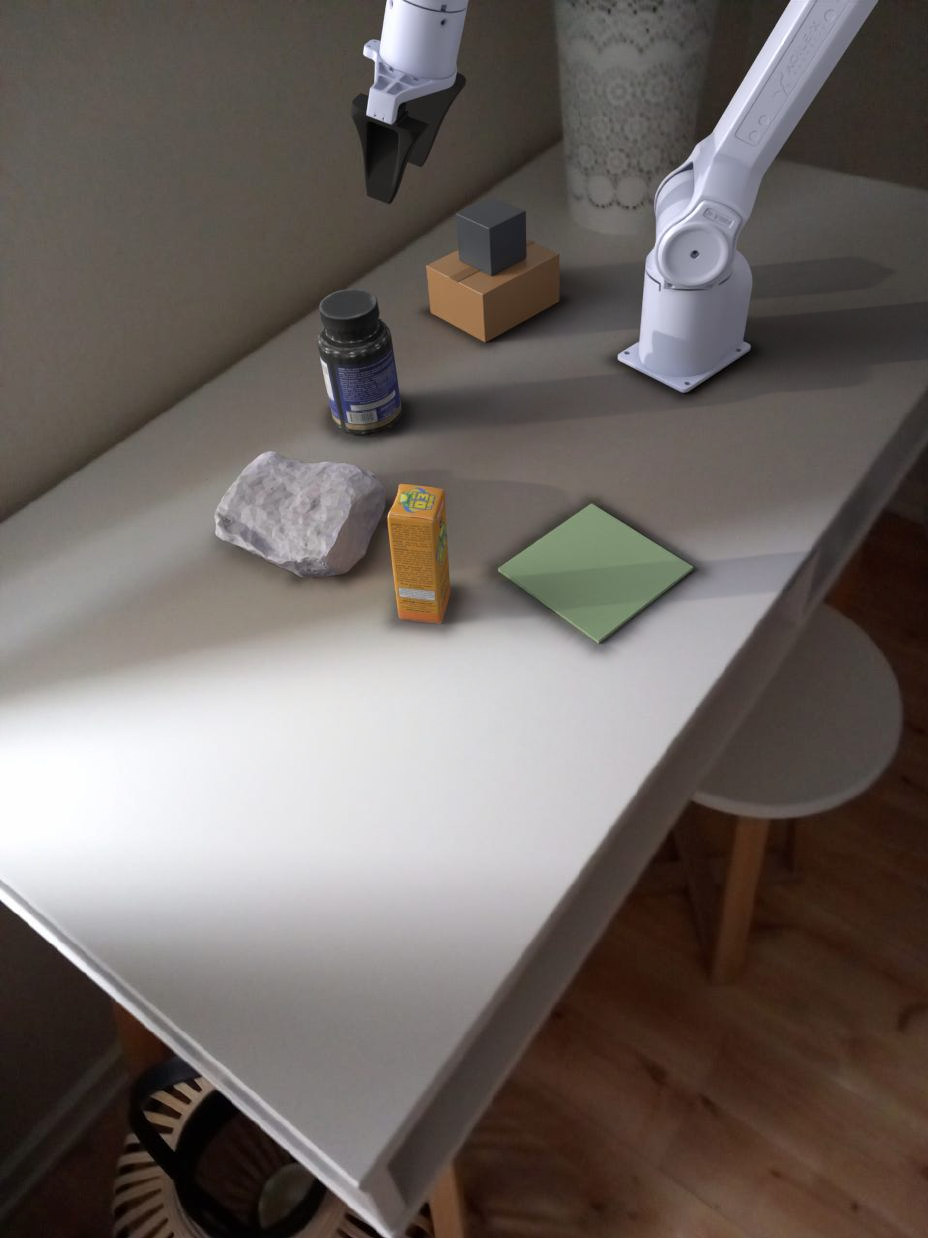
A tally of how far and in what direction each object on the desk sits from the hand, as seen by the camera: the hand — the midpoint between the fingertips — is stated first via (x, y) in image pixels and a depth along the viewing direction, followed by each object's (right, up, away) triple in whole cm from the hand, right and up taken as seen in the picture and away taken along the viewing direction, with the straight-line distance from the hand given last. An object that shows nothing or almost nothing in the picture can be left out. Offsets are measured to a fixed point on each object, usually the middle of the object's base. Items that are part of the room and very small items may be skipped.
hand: (396, 179), depth 79 cm
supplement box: (+3, -35, -9) cm, 36 cm away
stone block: (-7, -29, -3) cm, 30 cm away
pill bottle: (-3, -18, +6) cm, 20 cm away
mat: (+15, -32, -8) cm, 37 cm away
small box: (+8, -2, +13) cm, 16 cm away
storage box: (+9, -5, +17) cm, 20 cm away
